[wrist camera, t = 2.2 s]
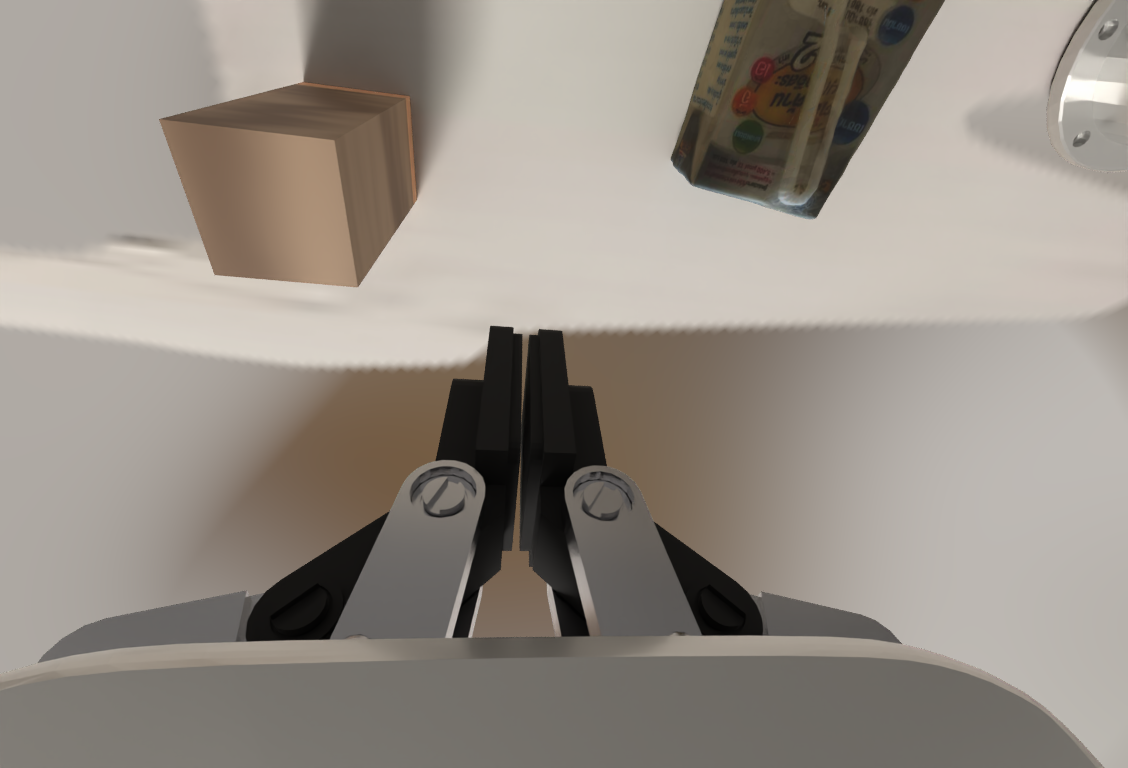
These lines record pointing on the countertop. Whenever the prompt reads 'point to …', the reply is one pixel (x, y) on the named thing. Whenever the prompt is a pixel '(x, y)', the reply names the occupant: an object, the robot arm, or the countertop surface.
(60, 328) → the countertop surface
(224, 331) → the countertop surface
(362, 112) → the wooden block
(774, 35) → the beverage carton
